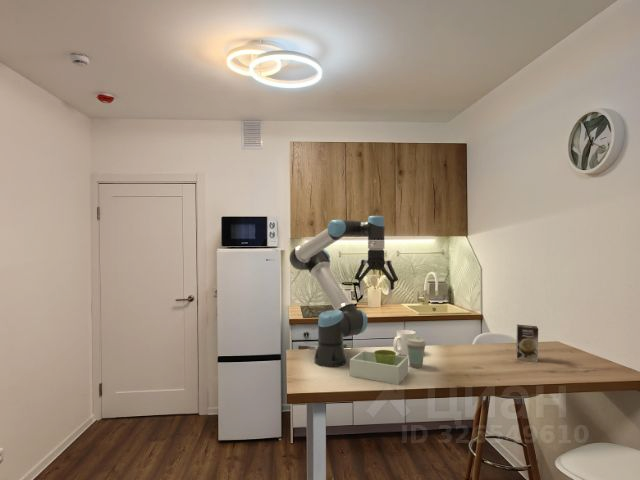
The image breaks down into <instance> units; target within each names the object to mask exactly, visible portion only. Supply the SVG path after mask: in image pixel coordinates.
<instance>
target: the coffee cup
mask: <svg viewBox="0 0 640 480" xmlns="http://www.w3.org/2000/svg"><path fill="white" fill-rule="evenodd" d="M407 347H408V356H407V357H408V367H410V368H412V369H413V368H414V369H420V368H423V366H424V365H423V364H424V357H425V348H426V341H425V339H423V338H419V337H417V338H409V339H408V340H407Z"/></svg>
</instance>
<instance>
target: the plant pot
mask: <svg viewBox="0 0 640 480" xmlns="http://www.w3.org/2000/svg"><path fill="white" fill-rule="evenodd" d="M373 352H374V354H375V357H376V363H382V364H388V365H393V364H394V358H395V355H397V352H396V351H394V350H391V349H390V350H389V349H378V350H374V351H373Z"/></svg>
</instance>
